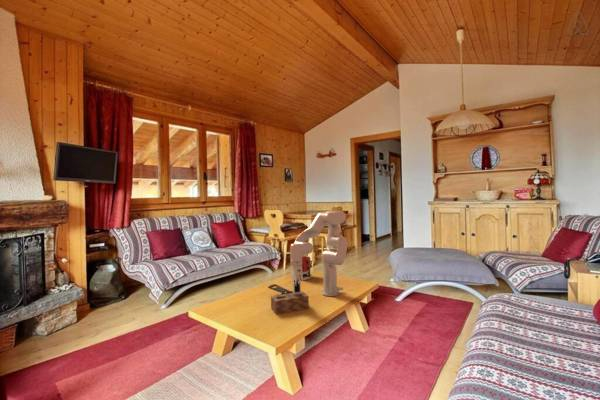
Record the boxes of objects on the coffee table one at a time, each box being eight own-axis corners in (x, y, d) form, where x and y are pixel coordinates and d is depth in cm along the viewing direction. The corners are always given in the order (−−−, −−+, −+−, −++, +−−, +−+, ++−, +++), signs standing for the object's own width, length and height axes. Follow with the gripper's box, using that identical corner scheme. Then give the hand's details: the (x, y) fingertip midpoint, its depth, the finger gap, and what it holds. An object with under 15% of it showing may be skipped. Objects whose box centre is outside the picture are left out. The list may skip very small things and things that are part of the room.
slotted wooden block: (303, 303, 203) (302, 291, 202) (308, 308, 193) (308, 296, 193) (271, 308, 195) (270, 296, 194) (275, 314, 185) (275, 301, 185)
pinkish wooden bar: (300, 299, 197) (299, 281, 197) (301, 300, 195) (300, 282, 195) (293, 301, 196) (292, 282, 195) (294, 302, 194) (293, 283, 193)
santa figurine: (306, 274, 273) (305, 246, 272) (317, 277, 262) (316, 248, 261) (291, 278, 262) (290, 249, 261) (302, 281, 251) (301, 251, 250)
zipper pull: (275, 283, 226) (301, 289, 211) (275, 292, 226) (301, 298, 211) (266, 286, 219) (293, 293, 204) (266, 295, 219) (293, 302, 204)
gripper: (306, 264, 189) (306, 294, 189) (297, 259, 204) (297, 287, 204) (295, 266, 186) (295, 295, 186) (286, 260, 201) (287, 288, 201)
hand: (296, 291), depth 195 cm, fingers closed on pinkish wooden bar, 2 cm apart
